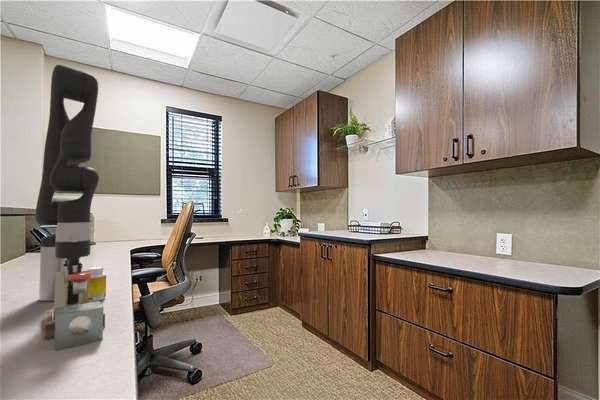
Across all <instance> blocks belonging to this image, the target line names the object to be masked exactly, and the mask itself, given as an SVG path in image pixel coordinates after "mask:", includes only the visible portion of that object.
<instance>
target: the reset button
mask: <svg viewBox="0 0 600 400" xmlns="http://www.w3.org/2000/svg"><path fill="white" fill-rule="evenodd" d="M90 278H91V273H90V272H84V273H75V274H70V275H69V281H73V294H81V293H85V292H87V279H90Z"/></svg>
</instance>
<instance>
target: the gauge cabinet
mask: <svg viewBox="0 0 600 400" xmlns="http://www.w3.org/2000/svg"><path fill="white" fill-rule="evenodd" d="M103 313H104V306H103V304H102V303H101V300H99V301H94V302H88V303H85V304H79V305H73V306H67V307H61V308H56V309H55V320H54V323H55V325H54V338H53V344H54V345H53V346H54V352H56V351H61V350H65V349H68V348H72V347H77V346H79V345H80V346H81V345H85V344H89V343H92V342H97V341H100V340H103V337H104V335H103V333H104V327H103Z"/></svg>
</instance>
